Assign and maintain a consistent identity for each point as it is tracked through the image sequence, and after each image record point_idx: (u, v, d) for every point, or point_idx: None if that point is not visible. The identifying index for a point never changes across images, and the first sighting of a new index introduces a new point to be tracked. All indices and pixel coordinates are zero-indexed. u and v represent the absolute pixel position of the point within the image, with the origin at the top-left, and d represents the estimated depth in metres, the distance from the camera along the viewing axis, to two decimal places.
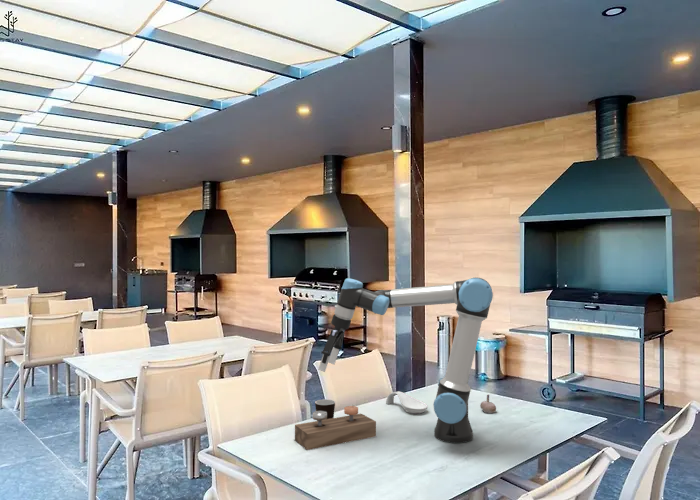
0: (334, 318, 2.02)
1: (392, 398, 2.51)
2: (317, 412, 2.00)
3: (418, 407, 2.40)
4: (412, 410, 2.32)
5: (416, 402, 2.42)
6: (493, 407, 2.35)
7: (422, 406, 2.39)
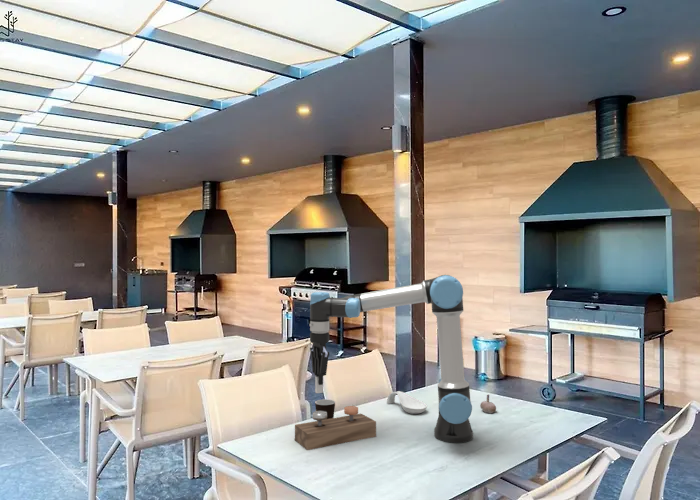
0: (317, 336, 1.97)
1: (393, 398, 2.51)
2: (317, 412, 2.00)
3: (418, 407, 2.40)
4: (411, 410, 2.32)
5: (416, 402, 2.42)
6: (493, 407, 2.35)
7: (422, 406, 2.39)
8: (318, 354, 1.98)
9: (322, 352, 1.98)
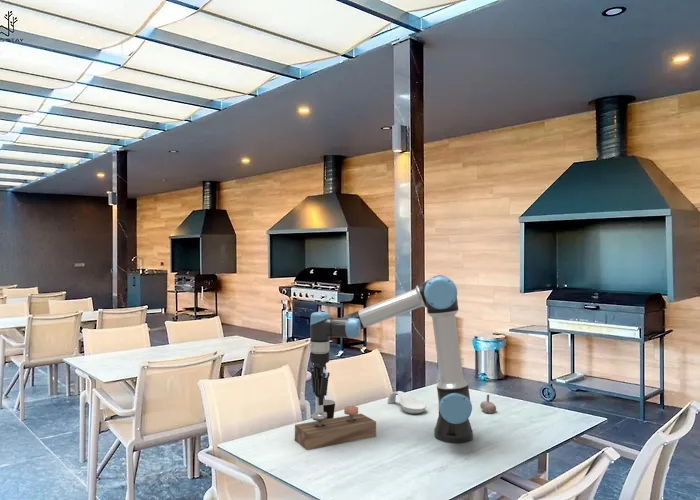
0: (317, 356, 1.96)
1: (394, 397, 2.52)
2: None
3: (417, 407, 2.40)
4: (410, 410, 2.33)
5: (416, 402, 2.42)
6: (493, 407, 2.35)
7: (421, 406, 2.39)
8: (318, 374, 1.98)
9: (322, 372, 1.97)
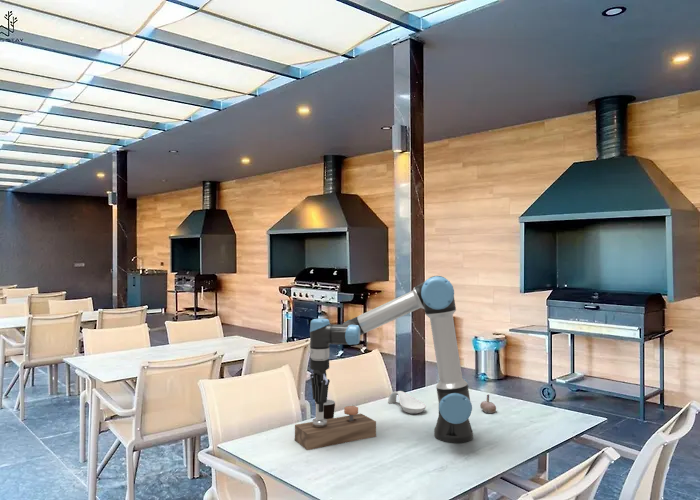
0: (317, 363, 1.96)
1: (394, 397, 2.52)
2: None
3: (417, 407, 2.40)
4: (409, 410, 2.33)
5: (416, 402, 2.42)
6: (493, 407, 2.35)
7: (421, 407, 2.39)
8: (318, 381, 1.98)
9: (322, 379, 1.97)
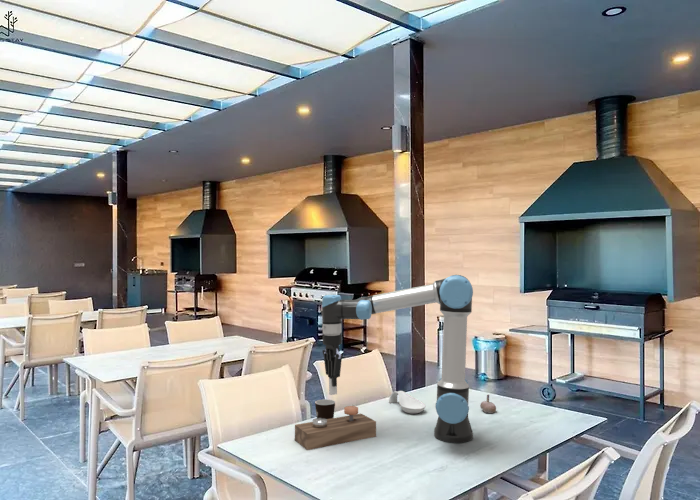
0: (330, 338, 1.99)
1: (395, 397, 2.52)
2: (317, 419, 2.00)
3: (417, 407, 2.40)
4: (408, 410, 2.33)
5: (416, 402, 2.42)
6: (493, 407, 2.35)
7: (421, 407, 2.39)
8: (331, 356, 2.00)
9: (335, 354, 2.00)
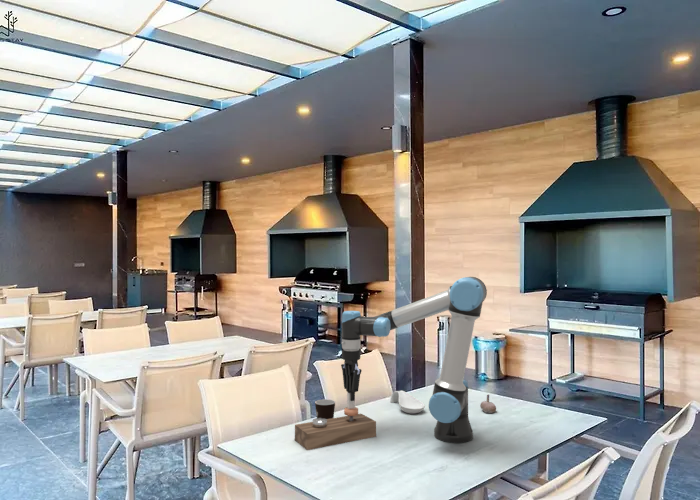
0: (349, 353, 2.03)
1: (397, 397, 2.53)
2: (317, 419, 2.00)
3: (417, 407, 2.40)
4: (406, 409, 2.33)
5: (416, 402, 2.42)
6: (493, 407, 2.35)
7: (420, 407, 2.39)
8: (350, 371, 2.04)
9: (354, 369, 2.04)
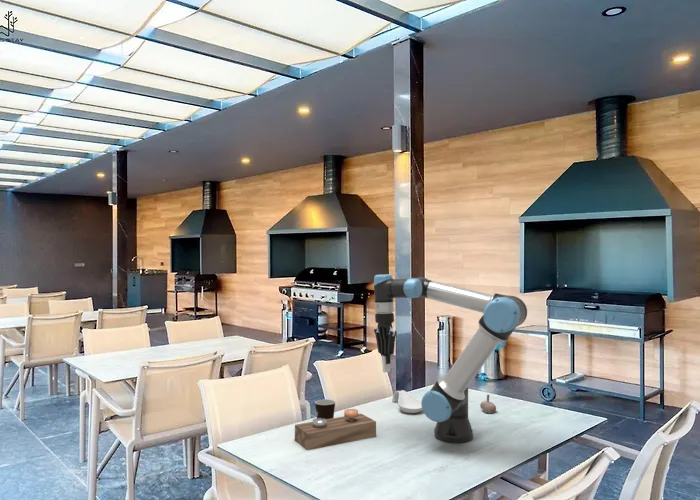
0: (383, 316, 2.03)
1: (398, 396, 2.54)
2: (317, 419, 2.00)
3: (416, 407, 2.40)
4: (404, 409, 2.34)
5: (416, 402, 2.42)
6: (493, 407, 2.35)
7: (420, 407, 2.39)
8: (385, 334, 2.04)
9: (389, 332, 2.04)
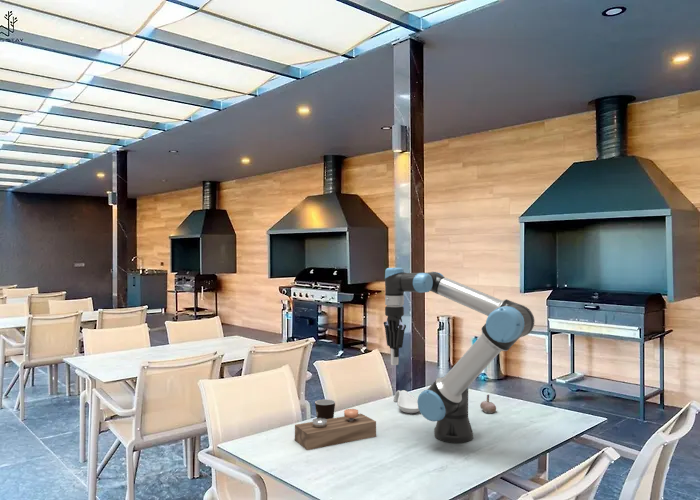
0: (393, 309, 2.03)
1: None
2: (317, 419, 2.00)
3: (416, 407, 2.40)
4: (403, 409, 2.34)
5: (416, 402, 2.42)
6: (493, 407, 2.35)
7: None
8: (394, 327, 2.04)
9: (398, 325, 2.04)
